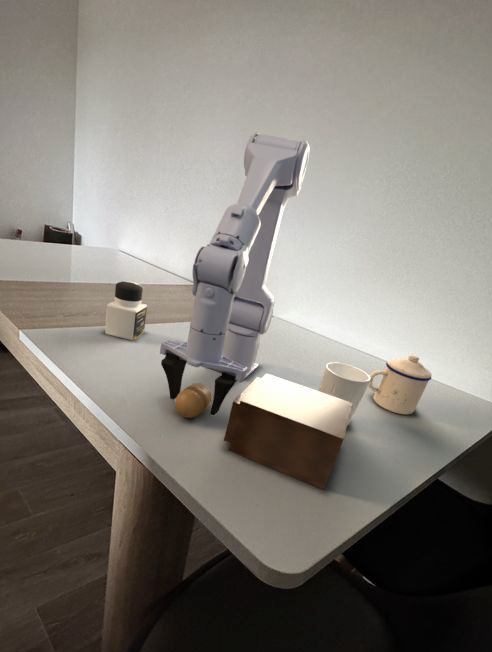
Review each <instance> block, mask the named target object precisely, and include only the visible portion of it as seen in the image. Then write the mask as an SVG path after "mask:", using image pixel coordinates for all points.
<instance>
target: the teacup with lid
mask: <svg viewBox="0 0 492 652" xmlns="http://www.w3.org/2000/svg"><path fill="white" fill-rule="evenodd" d="M385 365H386V366H385V368H384V370H383V369H376V370H374V371H372V372H370V374H368V375H369V376H370V378H371V379H370V382H369V384H368V386H367V387H368V388H369V389H370V390H371V391H372V392H374V395H373V400H374V402H375V403H376V404H377V405H379V406H380V407H381V408H382V409H385V410H387V411H390V412H392V413H395V414H399V415H411V414H413V413H414V412H415V410H416V408H417V406H418V404H419V402H420V400H421V398H422V396H423V393H424V391H425V389H426V387H427V385H428V383H429V381H431V380H432V376H433V375H432V372H431V371H430V370H429V369H428V368H426V367H425V366H424V365H423V364H422V363H421V362H420V357H419V356H417V355H414V354H410V355H408V357H402V358H390V359H388V360H387V361H386V363H385ZM378 375H381V378H380V380H379V383H378V385H377V387H374V385H373V380H374V378H375V377H376V376H378Z"/></svg>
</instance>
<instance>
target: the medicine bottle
mask: <svg viewBox="0 0 492 652" xmlns="http://www.w3.org/2000/svg"><path fill="white" fill-rule="evenodd" d="M114 288H115V290H114V300H113V301H111V302H110V303H107V305H106V313H105V317H106V318H105V331H104V333H105V334H106V335H109V336H113V337H116V338H120V339H125V340H129V341H135V340H136V339H137V338H139V337H140V336H141V335H142V334H144V333H145V328H146V321H147V320H146V319H147V310H148V305H147V304H146V303H142V300H143V290H144V289H143V286H142V285H141V284H139V283H138V282H137V283H136V282H133V281H127V280H126V281H125V280H124V281H123V280H122V281H119V282H117V283H116V284H115V287H114Z"/></svg>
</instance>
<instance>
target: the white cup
mask: <svg viewBox="0 0 492 652" xmlns="http://www.w3.org/2000/svg"><path fill="white" fill-rule="evenodd" d="M369 375H370V374H368V373H367V372H365V371H364V370H363V369H360V368H358V367H356V366H354V365H350V364H347V363H342V362H329V363H327V364H325V369H324V372H323V376H322V379H321V382H320V386H319V389H318V391H319V392H322V393H325V394H328V395H331V396H334V397H337V398H340V399H342V400H345V401H348V402H351V403H353V406H352V410H351V413H350V417H349V421H348V425H347V427H348V426H349V424H350V422H351V420H352V418H353V417H354V415H355V413H356V411H357V409H358V407H359V405H360V403H361V401H362V399H363V397H364V394H365V392H366V391H367V388H368V387H369V386H368V384H369V382H370V379H371V378H370V376H369Z"/></svg>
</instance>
